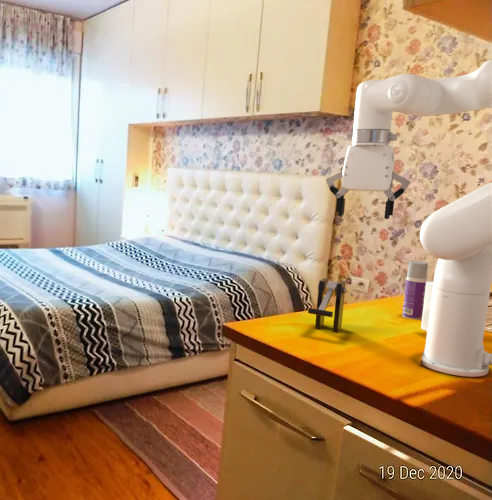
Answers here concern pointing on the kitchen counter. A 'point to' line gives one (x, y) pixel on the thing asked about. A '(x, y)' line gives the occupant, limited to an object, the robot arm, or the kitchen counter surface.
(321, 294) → the bracket
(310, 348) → the kitchen counter surface
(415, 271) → the container
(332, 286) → the lever
